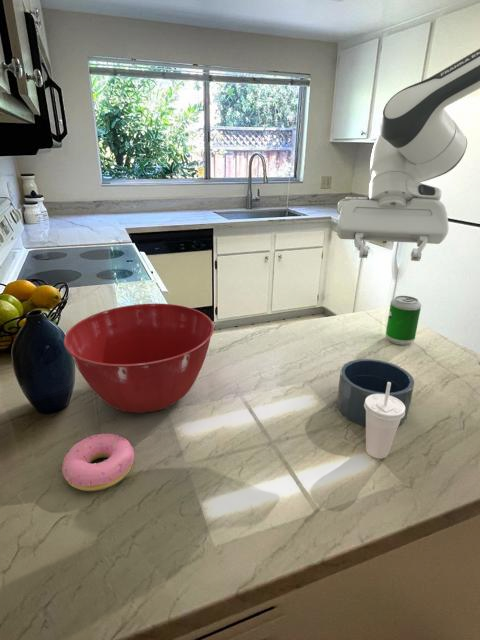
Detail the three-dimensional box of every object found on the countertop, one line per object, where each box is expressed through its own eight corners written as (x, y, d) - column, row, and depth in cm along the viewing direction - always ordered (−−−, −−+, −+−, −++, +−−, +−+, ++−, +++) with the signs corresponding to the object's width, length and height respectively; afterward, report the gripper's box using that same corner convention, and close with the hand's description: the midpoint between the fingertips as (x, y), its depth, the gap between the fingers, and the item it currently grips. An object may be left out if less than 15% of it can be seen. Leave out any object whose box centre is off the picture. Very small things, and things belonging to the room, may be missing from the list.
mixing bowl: (138, 461, 67) (129, 381, 61) (47, 401, 83) (33, 332, 77) (241, 388, 87) (241, 323, 81) (153, 351, 103) (148, 294, 97)
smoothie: (357, 459, 67) (368, 388, 62) (358, 435, 73) (368, 368, 68) (397, 467, 66) (412, 395, 60) (395, 442, 71) (408, 374, 66)
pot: (402, 393, 86) (407, 363, 83) (412, 433, 74) (420, 399, 71) (337, 386, 89) (340, 355, 86) (337, 423, 76) (341, 389, 74)
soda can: (420, 342, 110) (428, 301, 105) (401, 348, 106) (408, 306, 101) (397, 332, 116) (404, 292, 111) (379, 337, 112) (385, 297, 107)
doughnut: (138, 444, 71) (136, 424, 69) (132, 493, 60) (129, 471, 59) (73, 450, 69) (69, 430, 67) (55, 500, 59) (50, 479, 57)
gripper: (339, 186, 80) (334, 245, 75) (450, 189, 76) (452, 251, 71) (337, 206, 86) (332, 262, 81) (440, 210, 82) (441, 269, 77)
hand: (389, 257), depth 76 cm, fingers open, 8 cm apart
